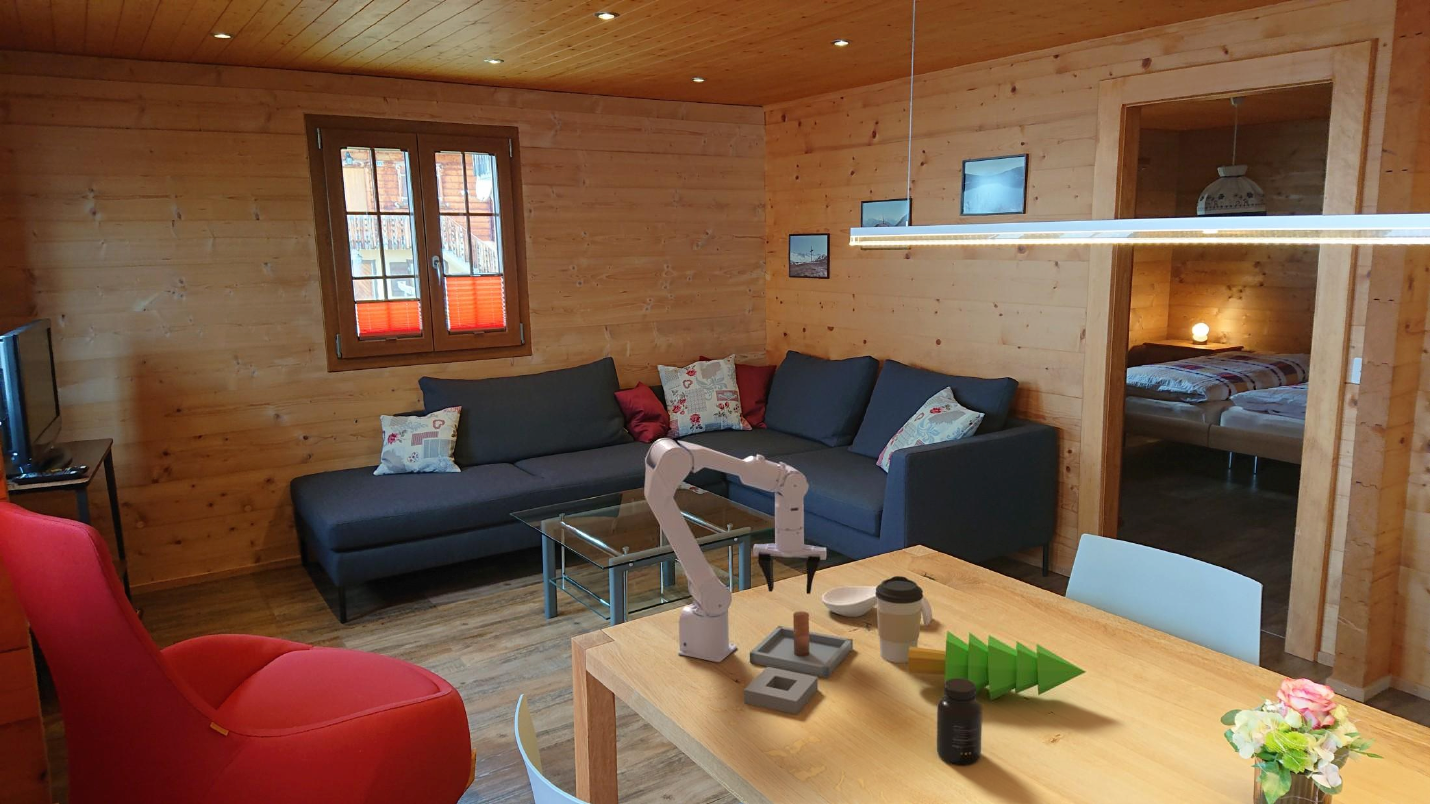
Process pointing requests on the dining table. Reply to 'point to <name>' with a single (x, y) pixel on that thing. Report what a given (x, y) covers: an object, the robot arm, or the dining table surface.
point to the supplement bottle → (959, 723)
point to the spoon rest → (861, 601)
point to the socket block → (781, 690)
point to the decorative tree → (994, 665)
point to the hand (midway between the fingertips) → (789, 590)
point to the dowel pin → (801, 633)
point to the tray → (819, 662)
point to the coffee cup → (898, 617)
